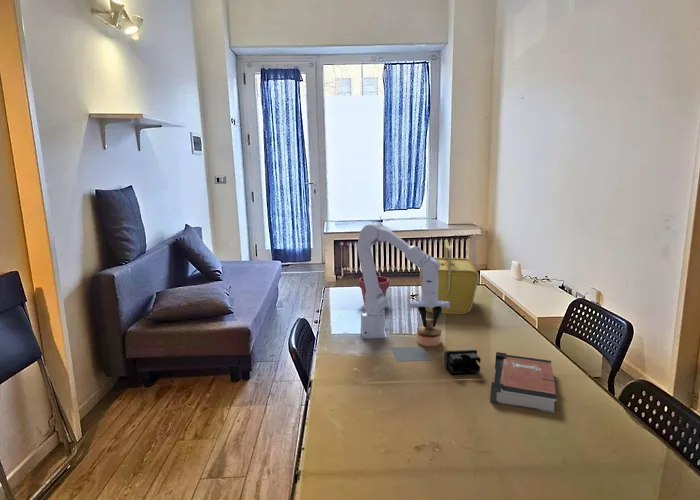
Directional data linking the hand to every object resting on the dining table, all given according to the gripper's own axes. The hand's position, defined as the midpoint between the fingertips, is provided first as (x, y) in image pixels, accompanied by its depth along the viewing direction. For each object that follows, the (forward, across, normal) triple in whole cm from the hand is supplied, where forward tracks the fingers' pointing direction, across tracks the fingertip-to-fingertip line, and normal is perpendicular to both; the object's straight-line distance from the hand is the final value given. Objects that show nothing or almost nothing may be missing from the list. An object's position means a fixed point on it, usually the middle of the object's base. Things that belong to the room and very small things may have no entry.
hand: (429, 326), depth 171 cm
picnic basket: (+7, +19, +45) cm, 49 cm away
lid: (+2, 0, 0) cm, 2 cm away
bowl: (+6, 0, 0) cm, 6 cm away
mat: (+6, -9, -11) cm, 16 cm away
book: (+7, +20, -37) cm, 42 cm away
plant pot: (+7, -15, +48) cm, 51 cm away
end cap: (+7, +5, -25) cm, 26 cm away
